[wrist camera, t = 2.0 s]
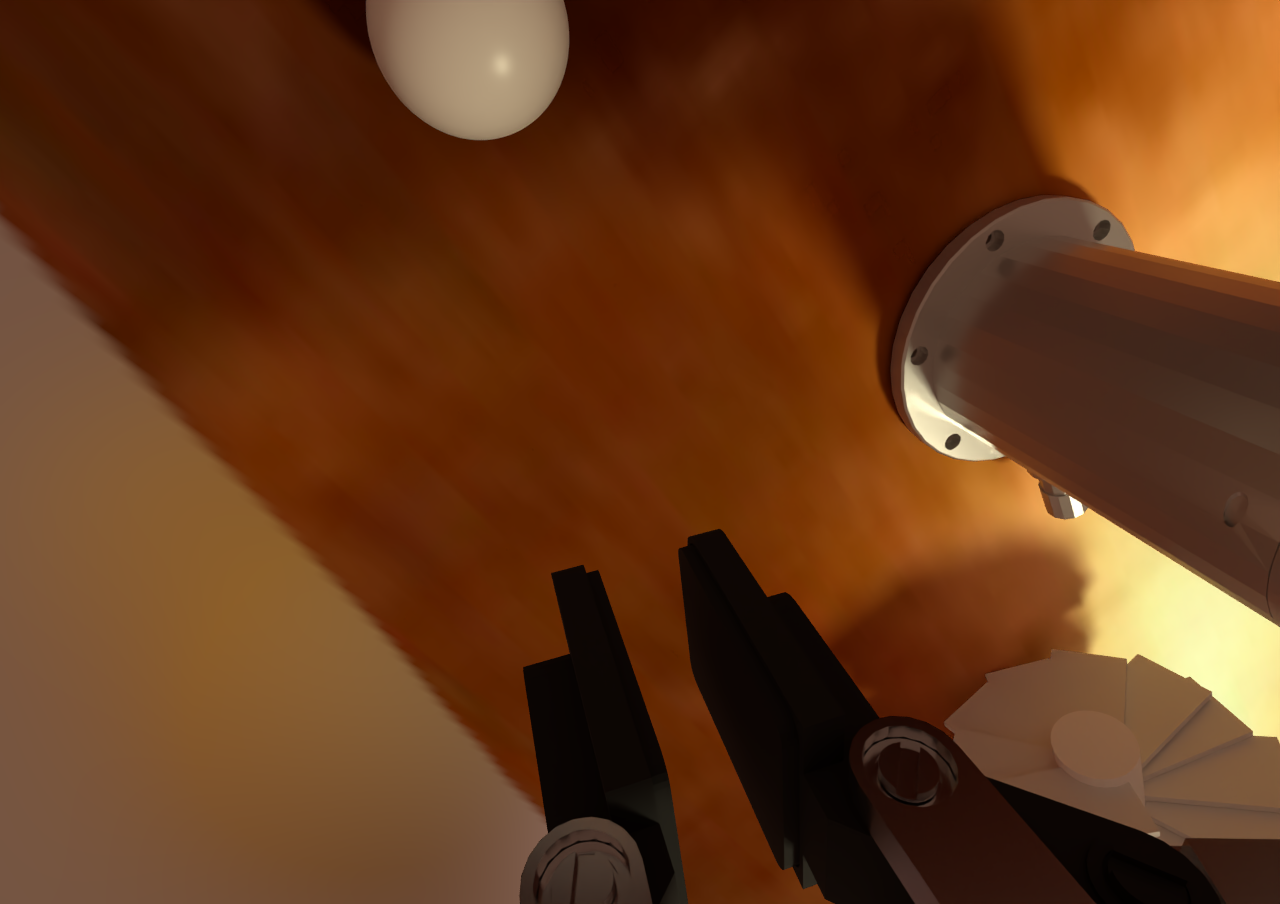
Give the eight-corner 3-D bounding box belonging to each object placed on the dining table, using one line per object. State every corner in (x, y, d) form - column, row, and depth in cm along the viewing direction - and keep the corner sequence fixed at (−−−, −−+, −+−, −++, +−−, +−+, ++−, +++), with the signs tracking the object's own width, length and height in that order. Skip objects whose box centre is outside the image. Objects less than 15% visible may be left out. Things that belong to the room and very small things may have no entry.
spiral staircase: (1006, 577, 47) (1050, 773, 59) (866, 780, 40) (949, 956, 52) (1391, 693, 33) (1347, 922, 44) (1278, 1042, 26) (1262, 1203, 37)
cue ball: (586, 73, 22) (626, 65, 18) (454, 169, 23) (458, 187, 18) (482, -111, 20) (496, -178, 15) (332, 2, 20) (301, -28, 15)
